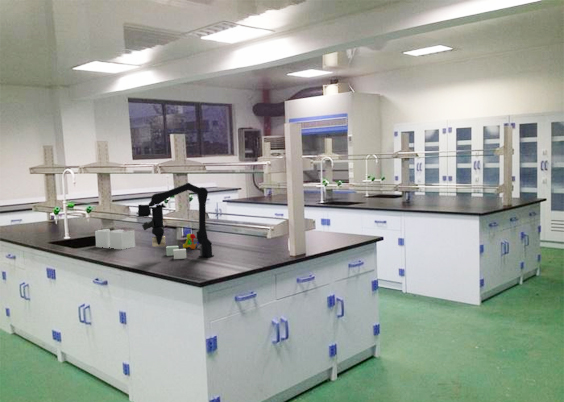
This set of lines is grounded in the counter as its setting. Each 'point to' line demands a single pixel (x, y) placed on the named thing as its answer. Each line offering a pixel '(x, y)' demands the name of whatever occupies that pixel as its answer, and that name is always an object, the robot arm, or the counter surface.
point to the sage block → (170, 250)
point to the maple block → (155, 244)
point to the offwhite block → (179, 253)
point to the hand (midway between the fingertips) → (159, 243)
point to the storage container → (115, 239)
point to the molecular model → (187, 244)
